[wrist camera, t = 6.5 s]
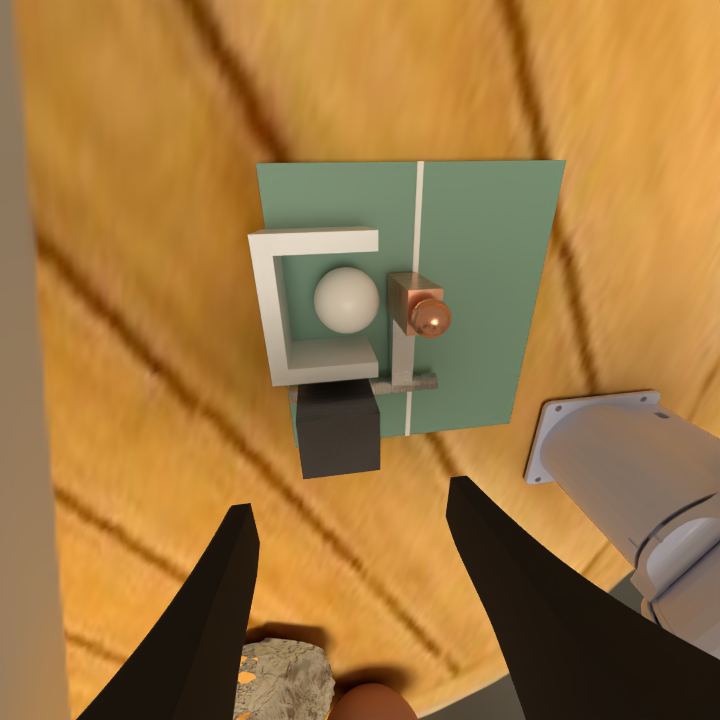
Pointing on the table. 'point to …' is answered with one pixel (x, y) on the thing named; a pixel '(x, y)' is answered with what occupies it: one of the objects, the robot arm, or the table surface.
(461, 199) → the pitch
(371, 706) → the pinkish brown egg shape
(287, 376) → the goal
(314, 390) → the knob lever
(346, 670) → the table surface
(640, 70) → the table surface
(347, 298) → the ball
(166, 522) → the table surface
